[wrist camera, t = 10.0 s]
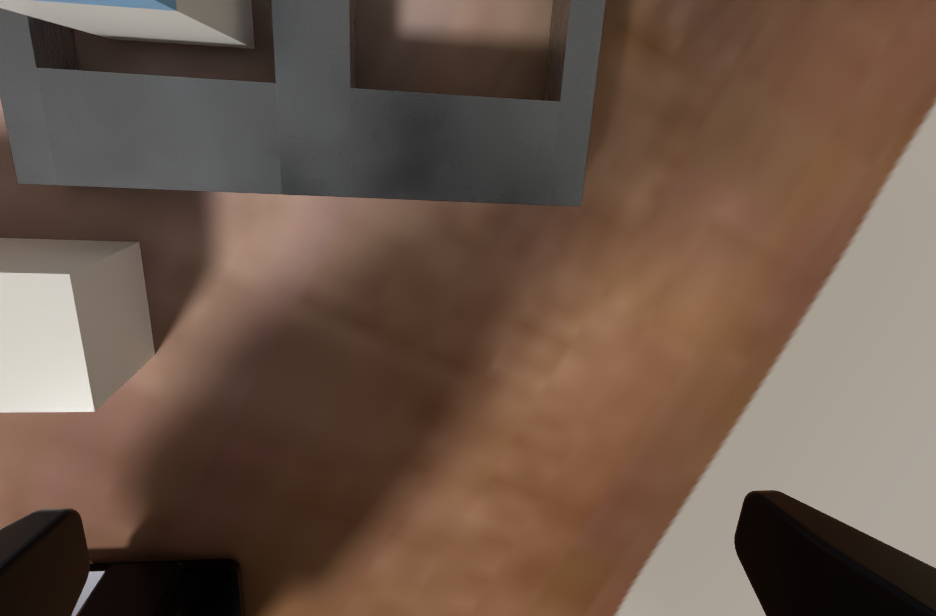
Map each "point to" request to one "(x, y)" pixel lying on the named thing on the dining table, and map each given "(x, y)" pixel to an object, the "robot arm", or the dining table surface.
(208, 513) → the dining table surface
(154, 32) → the plug
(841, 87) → the dining table surface
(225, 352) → the dining table surface
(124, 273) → the plug
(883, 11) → the dining table surface
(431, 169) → the panel
